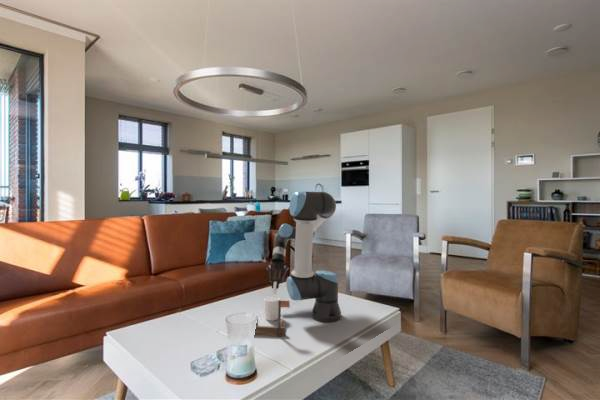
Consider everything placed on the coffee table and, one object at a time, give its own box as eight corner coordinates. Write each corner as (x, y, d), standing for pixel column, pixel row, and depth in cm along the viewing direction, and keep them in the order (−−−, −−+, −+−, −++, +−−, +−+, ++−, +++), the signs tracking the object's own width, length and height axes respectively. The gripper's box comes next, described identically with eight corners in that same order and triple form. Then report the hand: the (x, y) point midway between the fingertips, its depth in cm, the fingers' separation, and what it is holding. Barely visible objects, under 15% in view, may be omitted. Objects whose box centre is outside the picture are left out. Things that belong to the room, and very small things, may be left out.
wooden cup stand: (250, 324, 155) (250, 291, 155) (291, 326, 154) (291, 293, 154) (244, 335, 144) (244, 299, 143) (289, 337, 142) (289, 301, 142)
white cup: (282, 316, 166) (282, 297, 166) (276, 322, 159) (276, 302, 159) (268, 314, 169) (268, 295, 169) (261, 320, 161) (261, 300, 161)
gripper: (290, 260, 192) (286, 297, 176) (268, 259, 193) (263, 296, 176) (289, 253, 186) (285, 290, 170) (267, 252, 187) (261, 289, 171)
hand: (274, 293), depth 173 cm, fingers closed
